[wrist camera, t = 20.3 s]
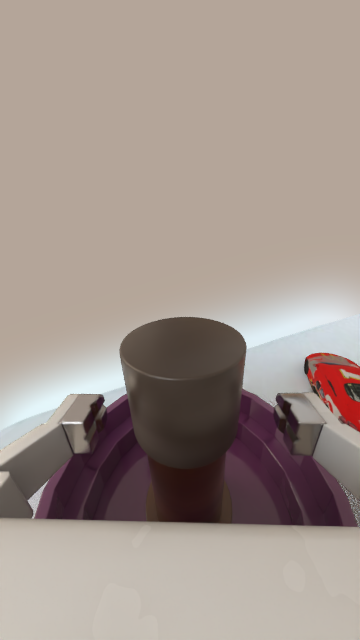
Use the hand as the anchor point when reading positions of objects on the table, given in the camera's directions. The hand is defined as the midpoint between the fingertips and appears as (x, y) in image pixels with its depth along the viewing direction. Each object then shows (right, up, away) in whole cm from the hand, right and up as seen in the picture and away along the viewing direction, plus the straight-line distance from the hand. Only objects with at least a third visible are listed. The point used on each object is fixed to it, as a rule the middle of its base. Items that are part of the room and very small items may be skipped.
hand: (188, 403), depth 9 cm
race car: (+17, -5, +11) cm, 20 cm away
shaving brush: (0, -8, +3) cm, 8 cm away
